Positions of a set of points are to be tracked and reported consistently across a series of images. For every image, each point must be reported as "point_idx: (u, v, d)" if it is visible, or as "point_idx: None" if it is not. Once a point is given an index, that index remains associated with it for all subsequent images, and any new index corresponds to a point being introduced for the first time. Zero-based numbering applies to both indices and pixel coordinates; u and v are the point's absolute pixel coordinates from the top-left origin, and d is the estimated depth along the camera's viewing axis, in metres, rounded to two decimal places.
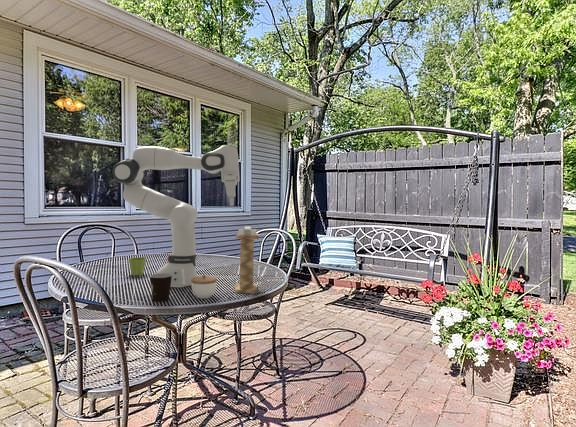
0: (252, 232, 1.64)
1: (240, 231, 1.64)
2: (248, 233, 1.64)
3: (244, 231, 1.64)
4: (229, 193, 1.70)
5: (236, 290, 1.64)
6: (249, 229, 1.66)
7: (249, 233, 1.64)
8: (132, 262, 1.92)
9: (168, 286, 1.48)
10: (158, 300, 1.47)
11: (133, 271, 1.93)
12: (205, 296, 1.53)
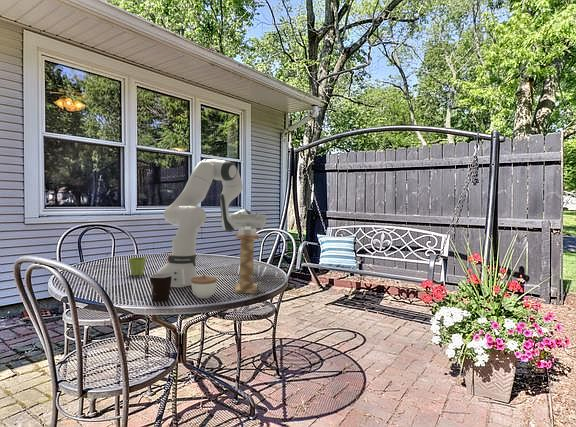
0: (252, 232, 1.64)
1: (240, 231, 1.64)
2: (248, 233, 1.64)
3: (244, 231, 1.64)
4: None
5: (236, 290, 1.64)
6: (249, 229, 1.66)
7: (249, 233, 1.64)
8: (132, 262, 1.92)
9: (168, 286, 1.48)
10: (158, 300, 1.47)
11: (133, 271, 1.93)
12: (205, 296, 1.53)
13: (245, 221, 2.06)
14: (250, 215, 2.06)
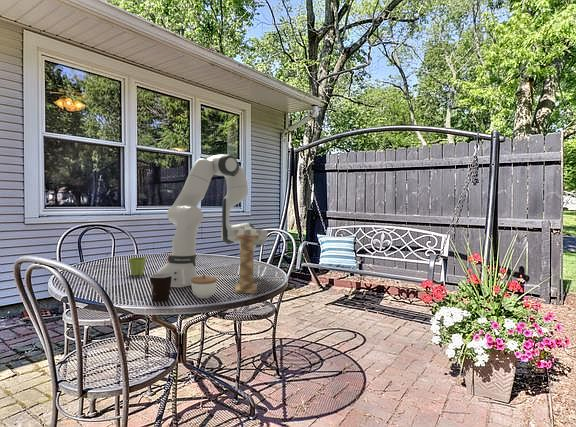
0: (252, 232, 1.64)
1: (240, 231, 1.64)
2: (248, 233, 1.64)
3: (244, 231, 1.64)
4: None
5: (236, 290, 1.64)
6: (249, 229, 1.66)
7: (249, 233, 1.64)
8: (132, 262, 1.92)
9: (168, 286, 1.48)
10: (158, 300, 1.47)
11: (133, 271, 1.93)
12: (205, 296, 1.53)
13: None
14: None
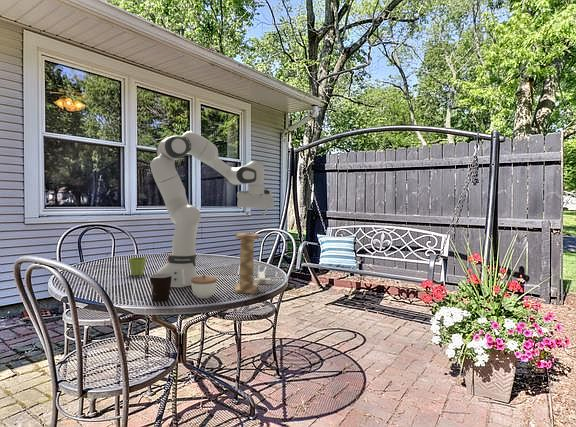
0: (266, 282, 1.82)
1: (256, 281, 1.82)
2: (263, 282, 1.82)
3: (259, 281, 1.82)
4: (273, 205, 2.02)
5: (236, 290, 1.64)
6: (264, 278, 1.84)
7: (264, 282, 1.82)
8: (132, 262, 1.92)
9: (168, 286, 1.48)
10: (158, 300, 1.47)
11: (133, 271, 1.93)
12: (205, 296, 1.53)
13: None
14: None
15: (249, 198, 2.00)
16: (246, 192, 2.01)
